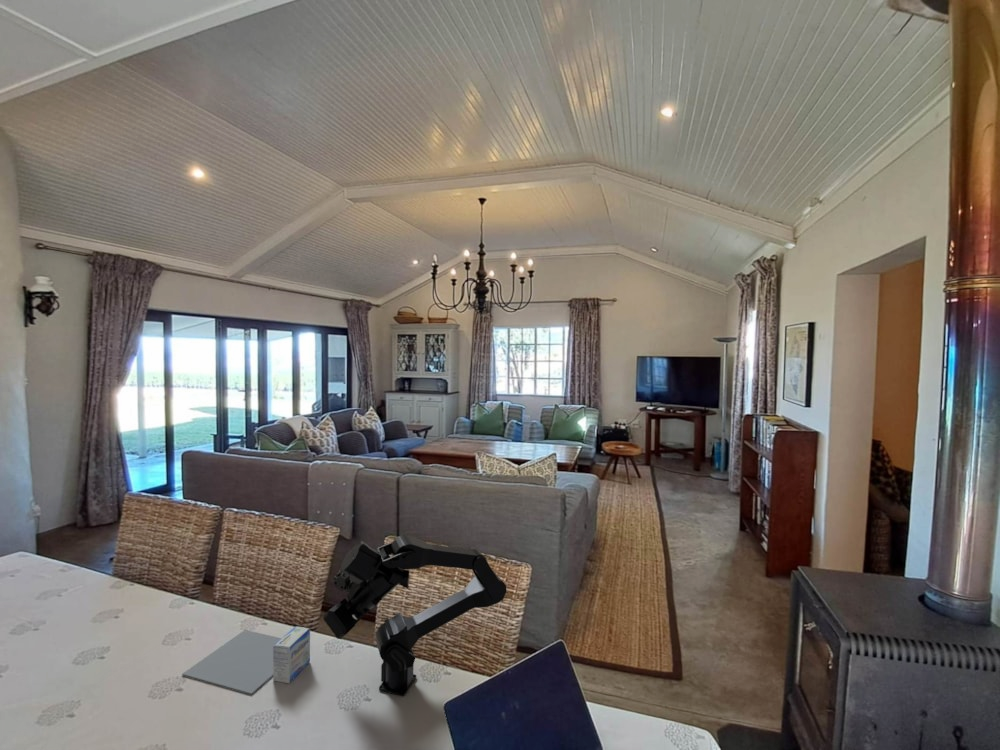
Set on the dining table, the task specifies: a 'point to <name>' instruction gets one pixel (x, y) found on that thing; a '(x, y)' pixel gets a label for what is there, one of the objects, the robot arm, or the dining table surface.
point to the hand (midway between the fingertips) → (336, 623)
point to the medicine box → (291, 654)
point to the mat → (238, 663)
